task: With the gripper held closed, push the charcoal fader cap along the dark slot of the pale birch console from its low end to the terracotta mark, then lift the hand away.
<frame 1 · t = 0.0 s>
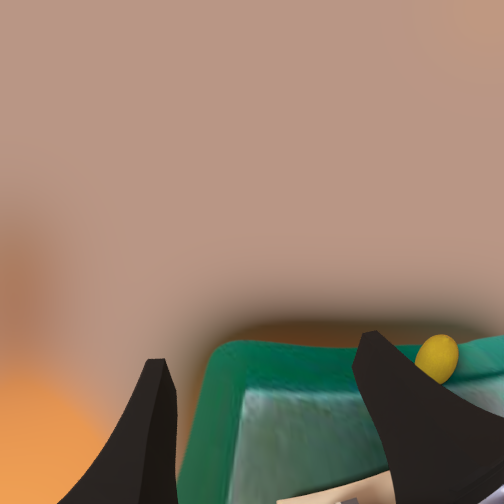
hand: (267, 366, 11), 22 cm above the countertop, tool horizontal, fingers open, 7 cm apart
lemon: (425, 383, 32), on the countertop
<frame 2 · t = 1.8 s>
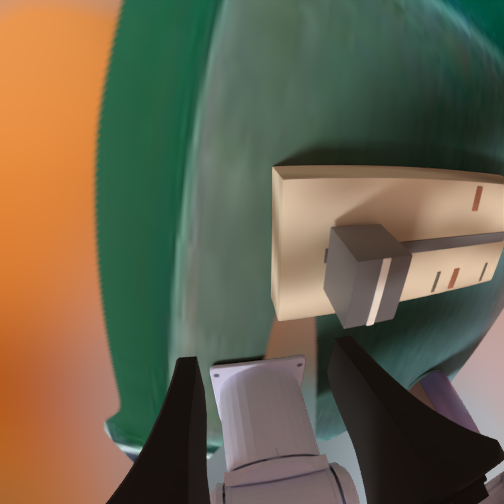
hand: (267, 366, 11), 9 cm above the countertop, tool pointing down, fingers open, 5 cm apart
beverage can: (423, 381, 33), on the countertop
fader: (364, 274, 15), point 5 cm above the countertop, slide at 0.0 cm
console: (408, 227, 20), on the countertop
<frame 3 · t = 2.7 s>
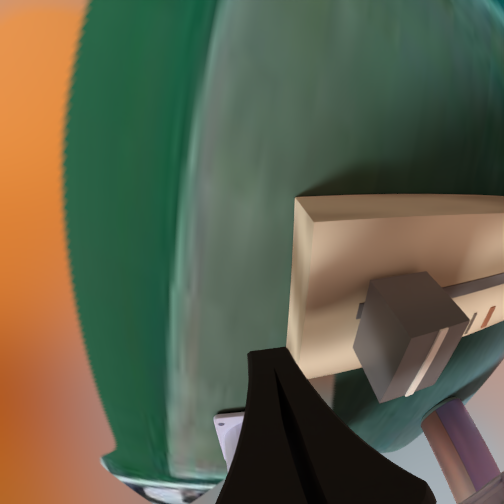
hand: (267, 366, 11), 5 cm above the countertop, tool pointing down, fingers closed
beverage can: (438, 408, 29), on the countertop
fader: (406, 337, 11), point 5 cm above the countertop, slide at 0.0 cm
console: (445, 263, 16), on the countertop
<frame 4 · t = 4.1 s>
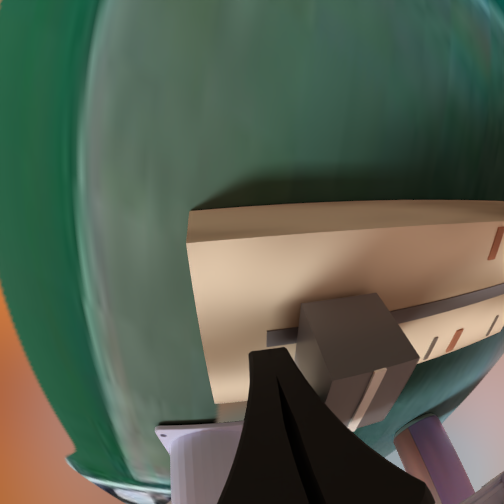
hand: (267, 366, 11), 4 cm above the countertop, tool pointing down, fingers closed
beverage can: (413, 424, 28), on the countertop
fader: (347, 368, 10), point 5 cm above the countertop, slide at 1.1 cm, touching gripper
console: (398, 280, 15), on the countertop
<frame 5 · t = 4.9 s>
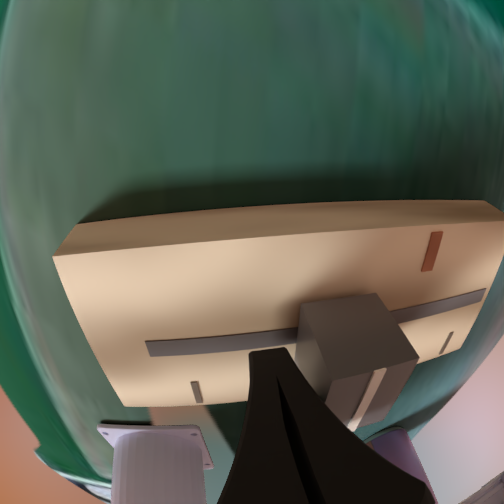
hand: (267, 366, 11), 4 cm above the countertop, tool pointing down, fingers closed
beverage can: (379, 436, 27), on the countertop
fader: (347, 368, 10), point 5 cm above the countertop, slide at 5.8 cm, touching gripper
console: (315, 292, 14), on the countertop
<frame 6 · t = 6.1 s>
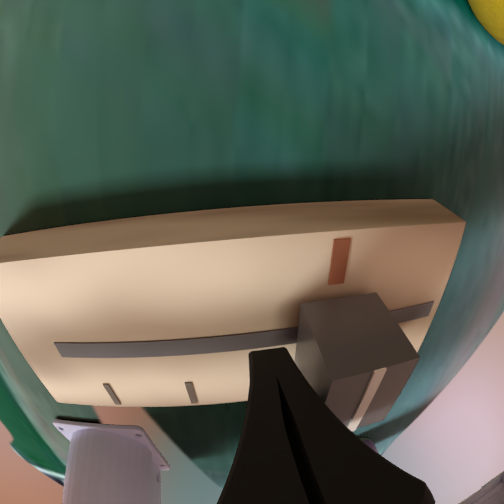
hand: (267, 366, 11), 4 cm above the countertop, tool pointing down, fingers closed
lemon: (468, 3, 8), on the countertop
fader: (347, 368, 10), point 5 cm above the countertop, slide at 10.1 cm, touching gripper
console: (223, 302, 14), on the countertop
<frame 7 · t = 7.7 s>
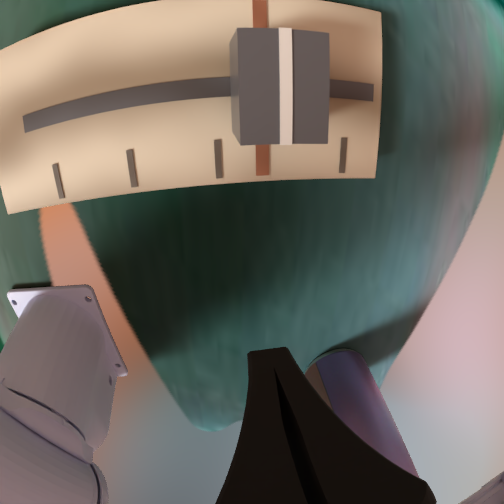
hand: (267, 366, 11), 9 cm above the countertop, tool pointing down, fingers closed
beverage can: (331, 365, 27), on the countertop
fader: (274, 85, 10), point 5 cm above the countertop, slide at 10.1 cm
console: (174, 91, 14), on the countertop
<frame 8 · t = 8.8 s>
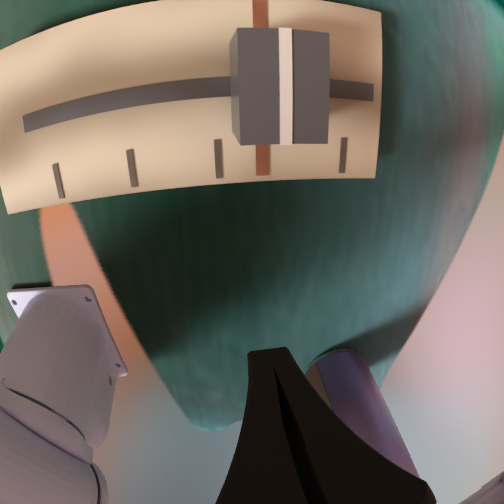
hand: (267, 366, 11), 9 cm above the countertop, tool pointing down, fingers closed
beverage can: (331, 365, 27), on the countertop
fader: (274, 85, 10), point 5 cm above the countertop, slide at 10.1 cm
console: (174, 91, 14), on the countertop
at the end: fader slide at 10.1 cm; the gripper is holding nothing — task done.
